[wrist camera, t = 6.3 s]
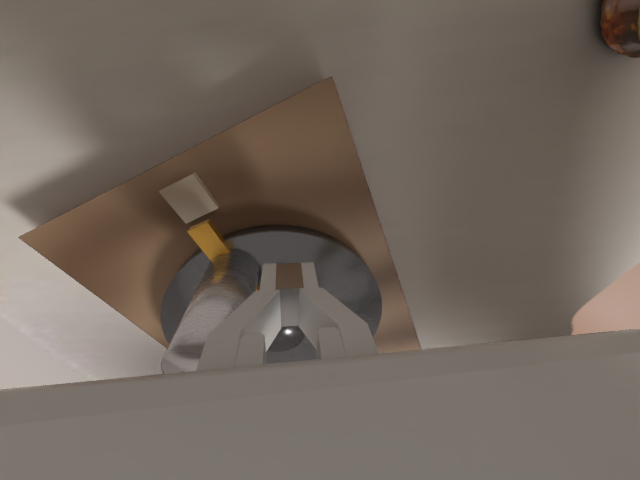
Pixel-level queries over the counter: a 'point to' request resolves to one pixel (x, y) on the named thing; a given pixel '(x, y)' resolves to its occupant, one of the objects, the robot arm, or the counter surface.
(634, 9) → the sauce bottle
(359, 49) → the counter surface
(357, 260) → the dial
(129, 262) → the stand
